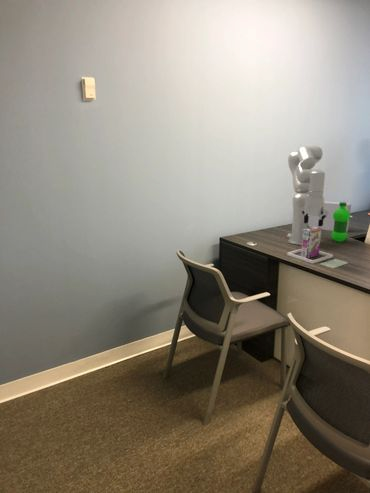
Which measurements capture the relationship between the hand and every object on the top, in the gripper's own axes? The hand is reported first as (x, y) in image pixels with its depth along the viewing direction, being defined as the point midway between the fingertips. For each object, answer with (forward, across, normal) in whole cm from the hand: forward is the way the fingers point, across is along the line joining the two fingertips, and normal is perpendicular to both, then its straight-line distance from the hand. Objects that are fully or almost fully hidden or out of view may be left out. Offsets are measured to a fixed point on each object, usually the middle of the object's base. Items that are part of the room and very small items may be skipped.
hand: (313, 224), depth 213 cm
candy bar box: (+19, -1, 0) cm, 19 cm away
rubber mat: (+19, +15, 0) cm, 25 cm away
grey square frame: (+19, -1, 0) cm, 19 cm away
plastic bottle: (+19, -10, +41) cm, 46 cm away
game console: (+18, -32, +60) cm, 71 cm away
